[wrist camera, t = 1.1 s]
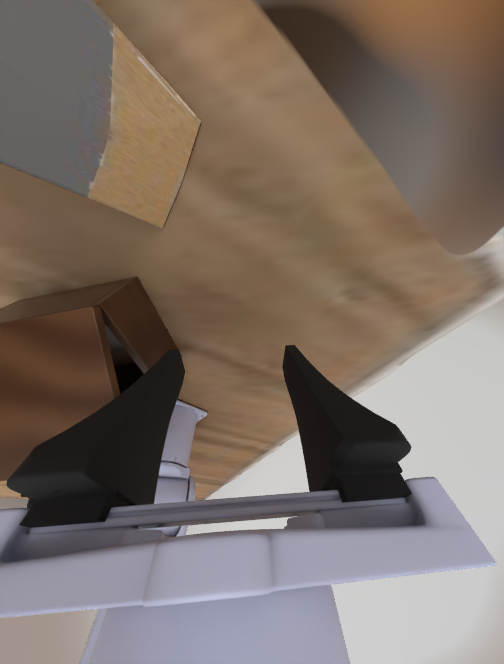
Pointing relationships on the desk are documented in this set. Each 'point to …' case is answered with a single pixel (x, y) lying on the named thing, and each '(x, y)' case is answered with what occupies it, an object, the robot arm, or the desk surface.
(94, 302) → the walnut box
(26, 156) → the sandwich container
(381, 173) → the desk surface
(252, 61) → the desk surface
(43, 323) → the lid
